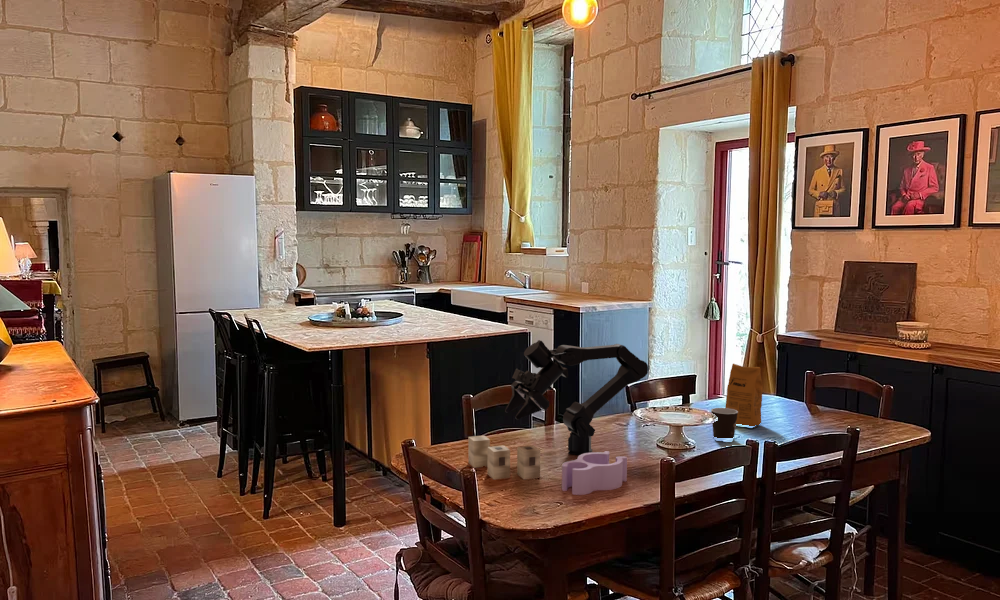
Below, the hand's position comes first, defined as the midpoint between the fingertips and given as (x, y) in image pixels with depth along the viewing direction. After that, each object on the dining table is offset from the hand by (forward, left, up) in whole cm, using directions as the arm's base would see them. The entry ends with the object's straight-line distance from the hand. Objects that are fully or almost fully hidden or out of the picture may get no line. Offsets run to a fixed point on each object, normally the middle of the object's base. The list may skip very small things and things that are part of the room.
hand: (511, 415), depth 226 cm
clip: (-28, +13, -14) cm, 34 cm away
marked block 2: (-9, +12, -14) cm, 21 cm away
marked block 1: (-1, +15, -14) cm, 21 cm away
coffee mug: (-61, -47, -14) cm, 78 cm away
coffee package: (-66, -69, -14) cm, 97 cm away
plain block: (+8, +7, -14) cm, 17 cm away
